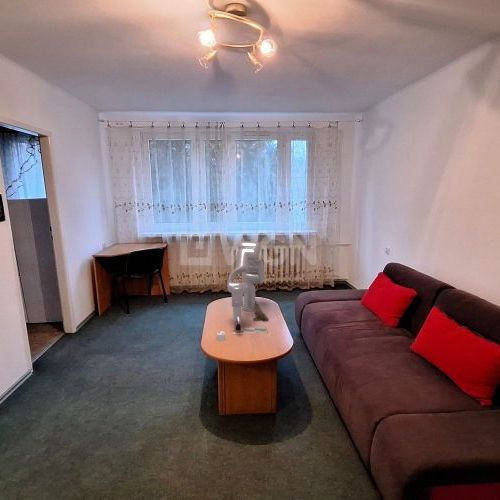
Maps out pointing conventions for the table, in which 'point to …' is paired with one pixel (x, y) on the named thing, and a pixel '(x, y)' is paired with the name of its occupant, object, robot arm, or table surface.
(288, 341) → the table surface
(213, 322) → the table surface
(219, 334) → the die
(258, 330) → the game board
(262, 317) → the worn brown figurine
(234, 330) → the pink cylindrical peg
